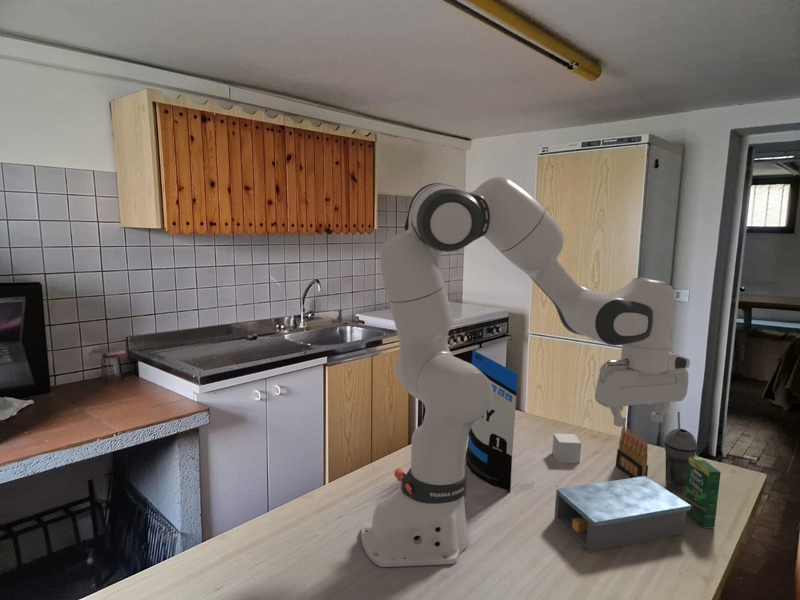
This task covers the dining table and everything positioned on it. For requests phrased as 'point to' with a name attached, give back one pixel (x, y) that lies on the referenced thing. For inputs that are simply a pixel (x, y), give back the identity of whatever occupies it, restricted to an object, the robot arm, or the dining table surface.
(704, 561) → the dining table surface
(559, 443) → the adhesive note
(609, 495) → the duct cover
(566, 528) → the duct trough
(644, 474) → the ammunition clip
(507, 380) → the protein powder
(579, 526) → the amber wooden bar
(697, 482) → the coffee box
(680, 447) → the beverage cup
